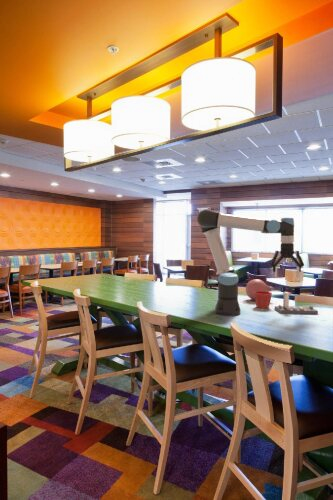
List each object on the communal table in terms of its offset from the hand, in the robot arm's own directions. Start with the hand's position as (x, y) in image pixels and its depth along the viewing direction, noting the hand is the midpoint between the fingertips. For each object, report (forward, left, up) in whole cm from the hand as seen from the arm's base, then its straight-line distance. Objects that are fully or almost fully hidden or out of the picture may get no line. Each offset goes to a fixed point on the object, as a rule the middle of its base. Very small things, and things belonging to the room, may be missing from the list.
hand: (286, 277), depth 204 cm
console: (+6, 0, -21) cm, 22 cm away
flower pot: (-11, +12, -21) cm, 27 cm away
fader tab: (0, 0, -19) cm, 19 cm away
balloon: (-7, +36, -21) cm, 42 cm away
